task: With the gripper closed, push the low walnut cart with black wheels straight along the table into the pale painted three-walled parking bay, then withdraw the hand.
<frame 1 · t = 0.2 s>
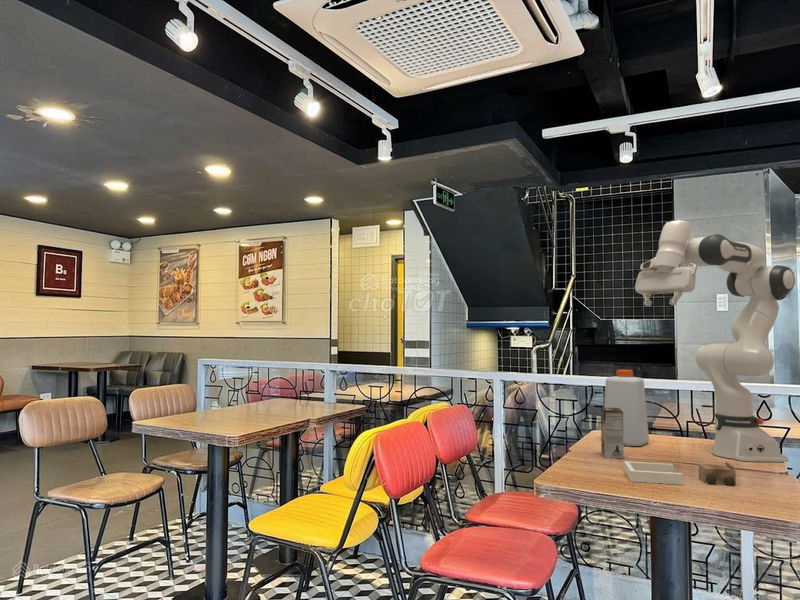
hand: (659, 305, 184), 52 cm above the table, tool tilted 20°, fingers open, 8 cm apart
plastic bottle: (625, 443, 220), on the table
bay: (653, 477, 168), on the table
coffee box: (612, 456, 197), on the table
cart: (716, 482, 164), on the table
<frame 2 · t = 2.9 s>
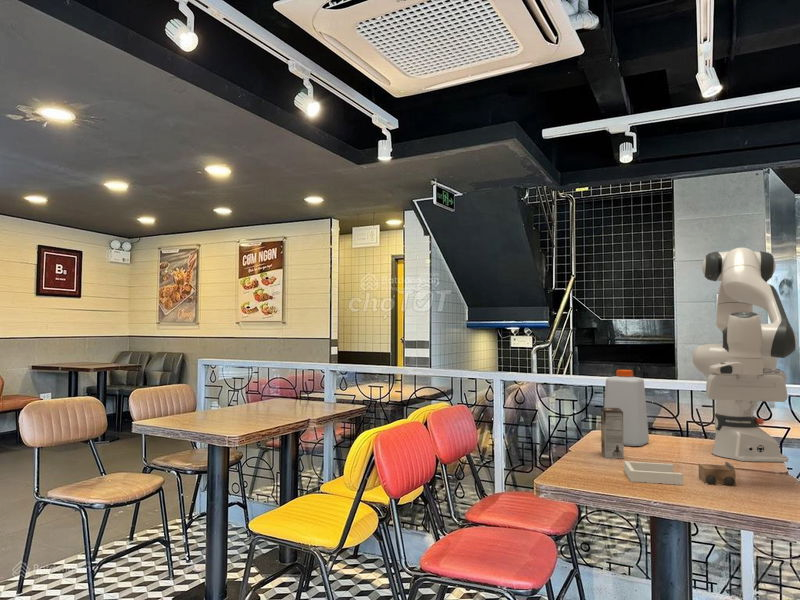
hand: (746, 416, 163), 19 cm above the table, tool pointing down, fingers closed
nothing on the table moved.
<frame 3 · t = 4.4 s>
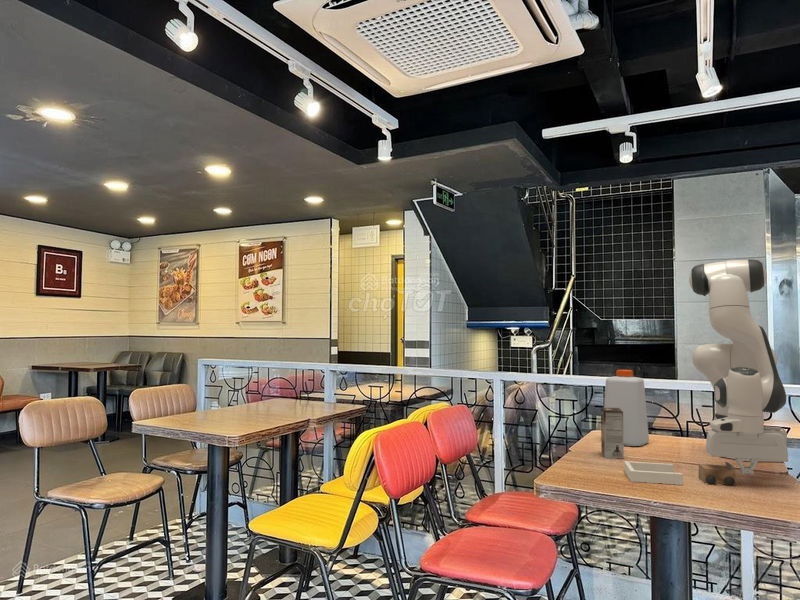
hand: (746, 473, 162), 3 cm above the table, tool pointing down, fingers closed
nothing on the table moved.
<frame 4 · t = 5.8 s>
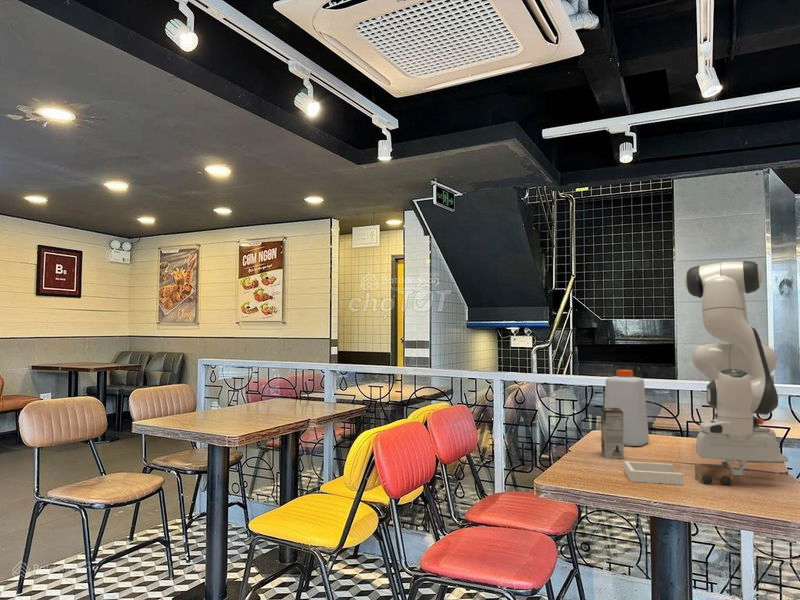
hand: (736, 475, 163), 2 cm above the table, tool pointing down, fingers closed
cart: (713, 481, 164), on the table, touching gripper
everything else where it was.
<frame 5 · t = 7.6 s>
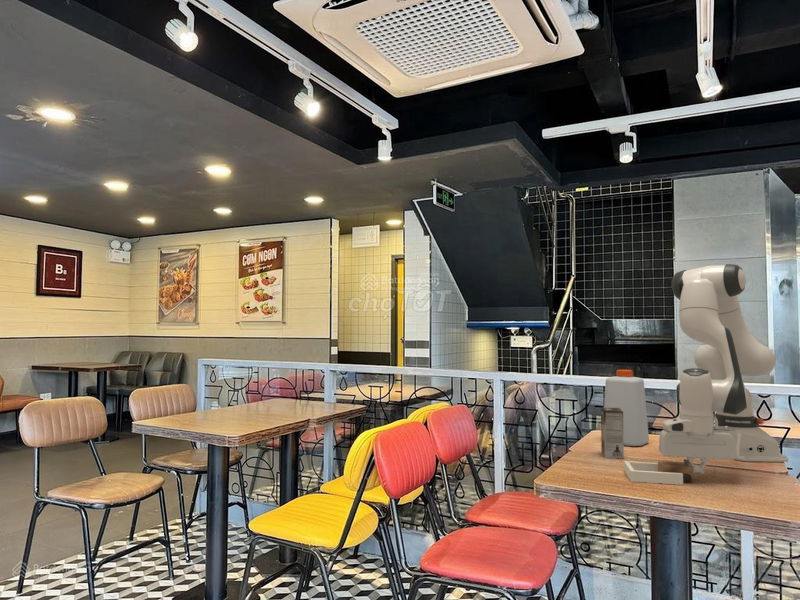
hand: (697, 473, 165), 2 cm above the table, tool pointing down, fingers closed
cart: (675, 479, 166), on the table, touching gripper
everything else where it was.
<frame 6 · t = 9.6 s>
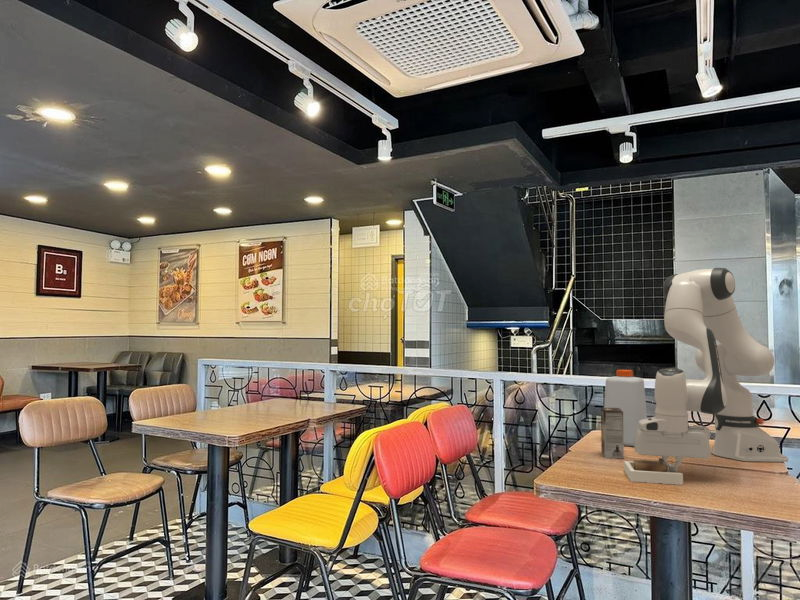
hand: (672, 471, 167), 2 cm above the table, tool pointing down, fingers closed
cart: (649, 477, 168), on the table, touching gripper
everything else where it was.
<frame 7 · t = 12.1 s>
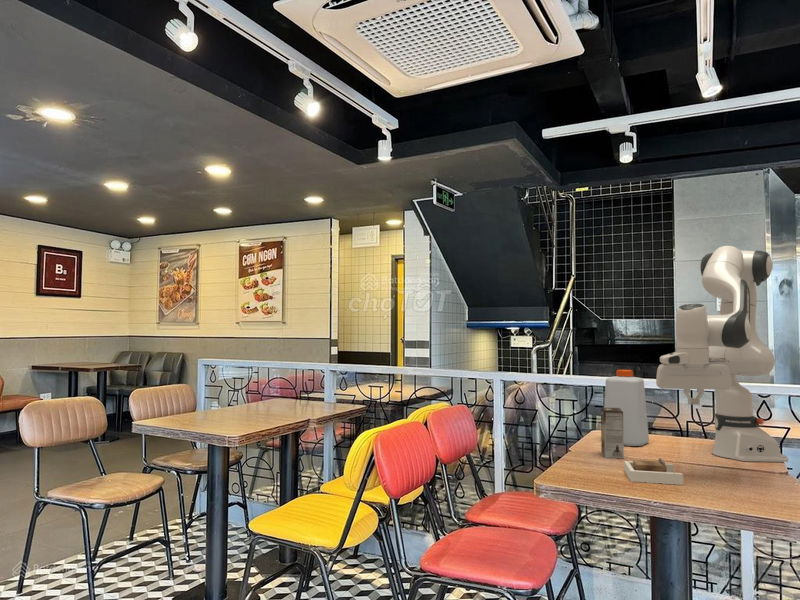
hand: (693, 404, 170), 21 cm above the table, tool pointing down, fingers closed
cart: (649, 478, 168), on the table
everything else where it was.
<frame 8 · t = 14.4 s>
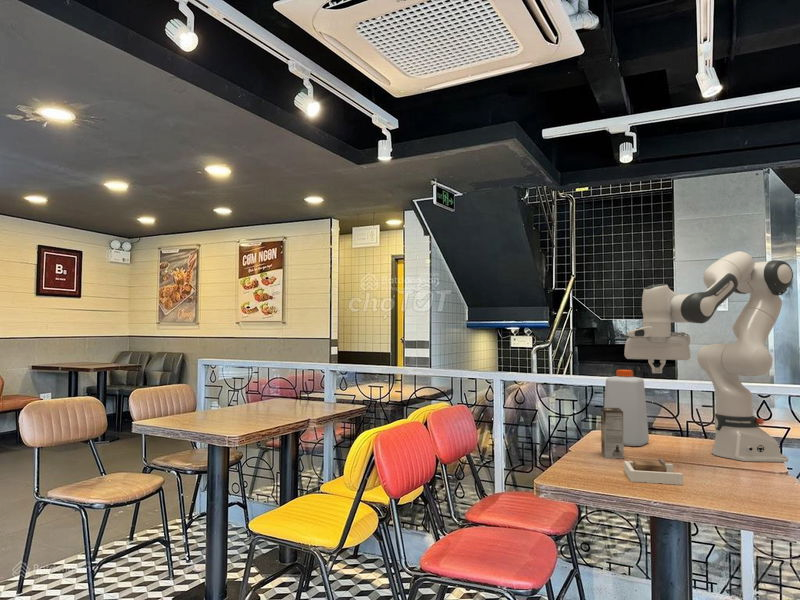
hand: (657, 373, 191), 29 cm above the table, tool pointing down, fingers closed
nothing on the table moved.
at the end: cart inside the target area on the bay (1.4 cm from its centre), point 0.0 cm above the bay's base; cart tilted 0° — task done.
